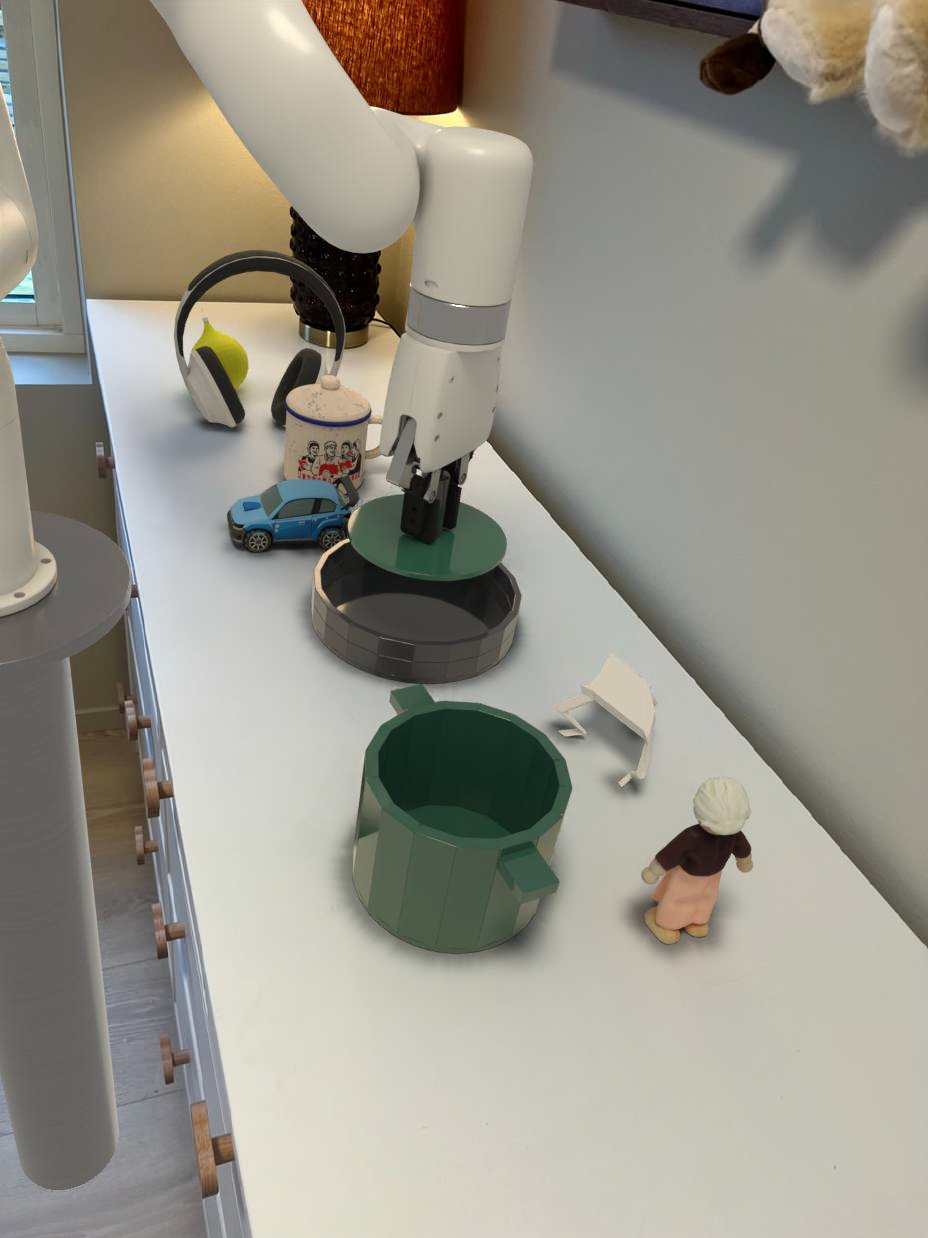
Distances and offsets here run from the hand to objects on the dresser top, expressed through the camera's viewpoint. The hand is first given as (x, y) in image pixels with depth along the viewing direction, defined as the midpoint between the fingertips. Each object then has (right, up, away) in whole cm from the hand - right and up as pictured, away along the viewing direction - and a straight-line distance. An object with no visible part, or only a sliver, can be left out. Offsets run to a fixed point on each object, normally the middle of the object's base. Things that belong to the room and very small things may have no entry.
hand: (428, 528), depth 82 cm
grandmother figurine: (+17, -28, -19) cm, 37 cm away
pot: (+2, -24, -18) cm, 30 cm away
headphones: (-22, +16, +34) cm, 43 cm away
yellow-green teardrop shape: (-28, +21, +40) cm, 53 cm away
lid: (0, -1, 0) cm, 1 cm away
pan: (-2, -8, +5) cm, 10 cm away
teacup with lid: (-11, +8, +25) cm, 29 cm away
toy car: (-14, 0, +14) cm, 20 cm away
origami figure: (+15, -18, -5) cm, 24 cm away
